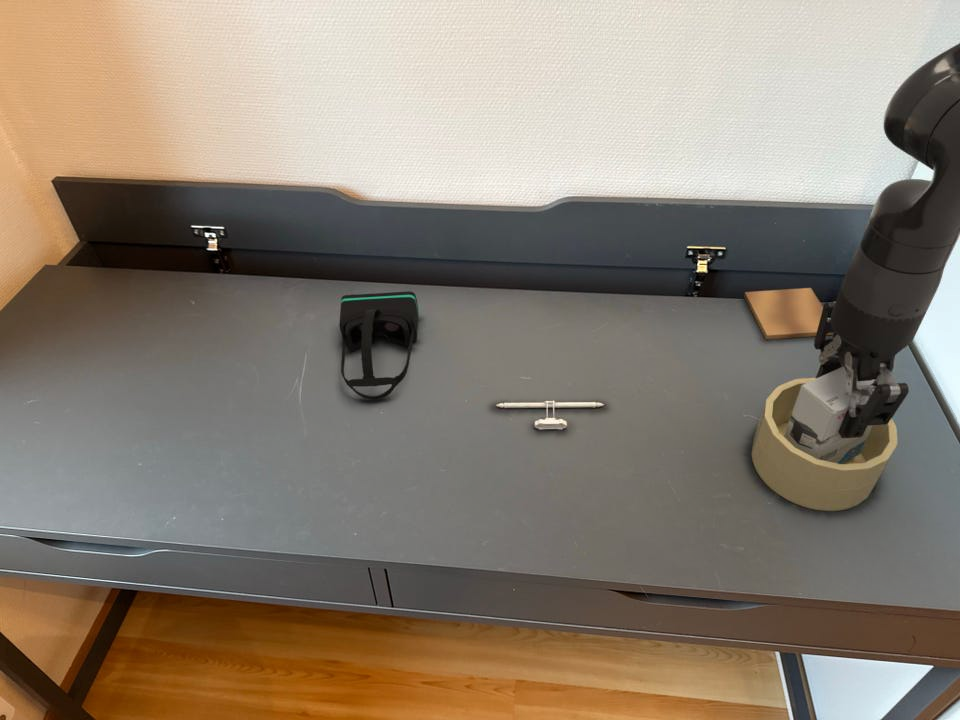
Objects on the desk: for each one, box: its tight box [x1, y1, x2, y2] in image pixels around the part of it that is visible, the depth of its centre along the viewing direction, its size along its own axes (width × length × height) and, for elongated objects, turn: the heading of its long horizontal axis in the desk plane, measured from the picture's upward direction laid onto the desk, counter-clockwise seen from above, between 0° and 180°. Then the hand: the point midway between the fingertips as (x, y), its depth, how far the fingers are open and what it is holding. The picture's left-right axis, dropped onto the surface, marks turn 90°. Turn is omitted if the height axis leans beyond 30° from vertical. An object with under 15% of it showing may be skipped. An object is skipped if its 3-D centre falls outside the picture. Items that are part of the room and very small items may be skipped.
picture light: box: [495, 399, 604, 430], centre depth 90 cm, size 14×4×2 cm, turn 88°
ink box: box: [784, 367, 874, 464], centre depth 78 cm, size 8×5×12 cm, turn 116°
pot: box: [751, 377, 899, 512], centre depth 81 cm, size 14×14×8 cm
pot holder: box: [743, 287, 834, 340], centre depth 103 cm, size 10×10×1 cm
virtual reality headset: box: [338, 290, 420, 401], centre depth 97 cm, size 11×17×10 cm, turn 2°
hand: (835, 411), depth 77 cm, fingers closed on ink box, 6 cm apart
